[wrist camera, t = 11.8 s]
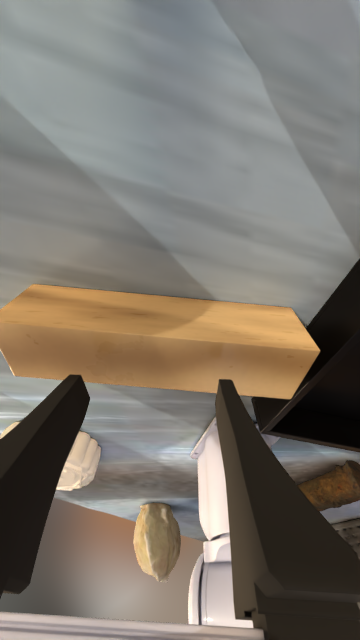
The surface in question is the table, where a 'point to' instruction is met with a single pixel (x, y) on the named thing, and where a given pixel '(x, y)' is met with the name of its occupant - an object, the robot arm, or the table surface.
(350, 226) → the table surface
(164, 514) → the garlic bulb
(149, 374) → the stick
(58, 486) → the mooncake
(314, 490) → the hand tool
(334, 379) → the black tray
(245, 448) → the robot arm
